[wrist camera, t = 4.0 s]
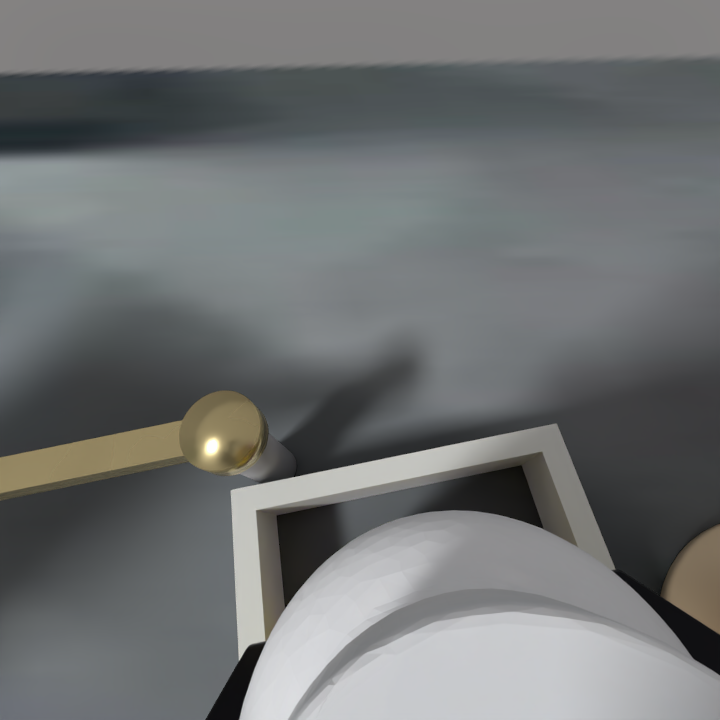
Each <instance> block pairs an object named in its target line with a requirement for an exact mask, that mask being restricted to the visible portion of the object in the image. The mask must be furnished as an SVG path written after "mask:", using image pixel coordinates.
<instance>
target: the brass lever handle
mask: <svg viewBox="0 0 720 720" xmlns="http://www.w3.org/2000/svg"><path fill="white" fill-rule="evenodd" d="M268 435H269V431H268V424H267V421H266V419H265V416H264V415H263V413H262V412H261V411H260V410H259V409H258V408H257V407H256V406H255V405H254V404H253V403H252V402H251V401H250V400H249V399H248V398H247V397H245V396H244V395H242V394H240V393H237V392H234V391H217V392H213V393H211V394H208V395H206V396H204V397H202V398H201V399H199V400H198V401H197V402H196V403H194V404H193V406H192V407H191V408H190V409H189V410H188V412H187V413H186V415H185V416H184V418H183V420H181V421H176V422H171V423H166V424H162V425H157V426H152V427H147V428H142V429H137V430H132V431H127V432H123V433H118V434H113V435H108V436H103V437H98V438H93V439H88V440H84V441H79V442H74V443H69V444H64V445H59V446H54V447H49V448H45V449H40V450H35V451H30V452H25V453H20V454H15V455H10V456H6V457H1V458H0V501H1V500H6V499H11V498H16V497H20V496H25V495H30V494H35V493H40V492H45V491H50V490H55V489H59V488H64V487H69V486H74V485H79V484H84V483H89V482H94V481H98V480H103V479H108V478H113V477H118V476H123V475H128V474H133V473H137V472H142V471H147V470H152V469H157V468H162V467H167V466H172V465H176V464H181V463H186V462H190V463H191V464H193V465H194V466H196V467H198V468H200V469H203V470H205V471H208V472H210V473H213V474H216V475H220V476H232V475H236V474H239V473H242V472H244V471H246V470H247V469H249V468H250V467H252V466H253V465H254V464H255V463H256V462H257V461H258V460H259V458H260V457H261V456H262V454H263V452H264V450H265V448H266V445H267V442H268Z"/></svg>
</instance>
